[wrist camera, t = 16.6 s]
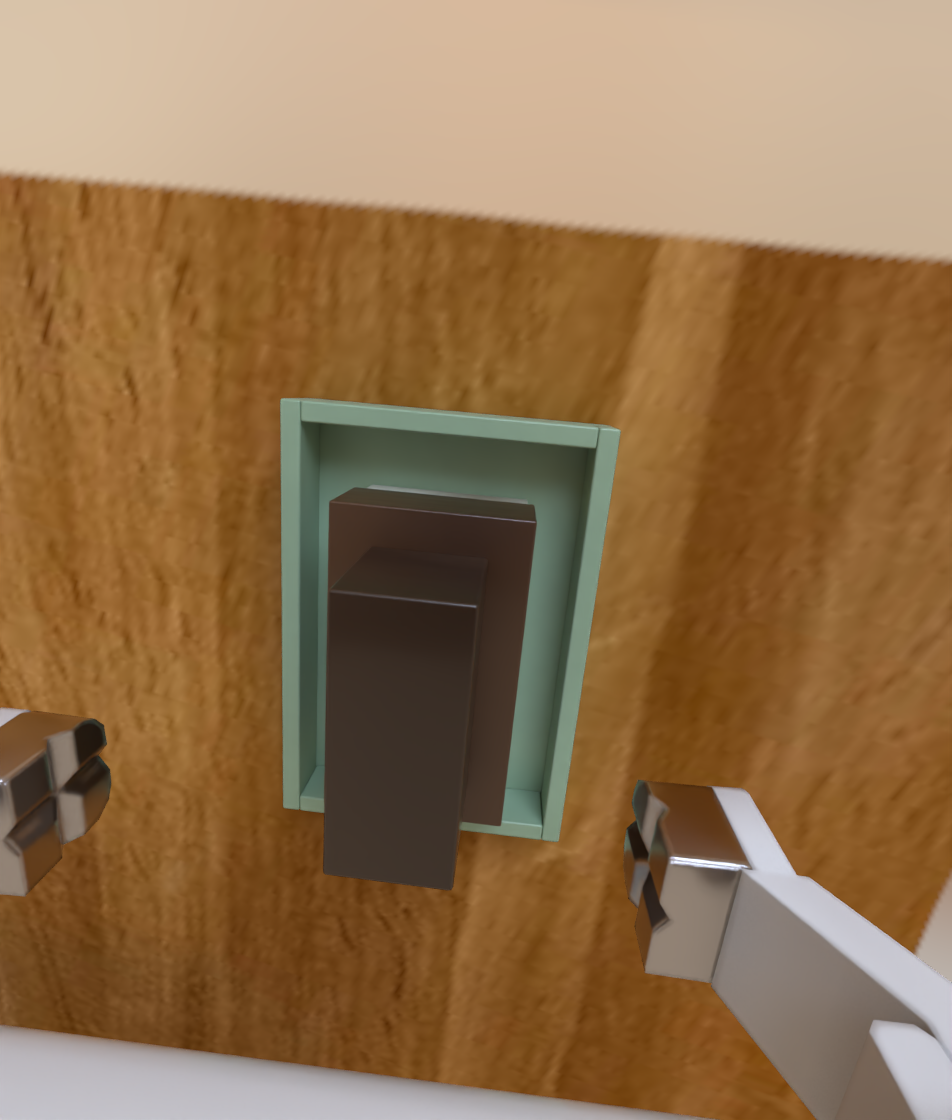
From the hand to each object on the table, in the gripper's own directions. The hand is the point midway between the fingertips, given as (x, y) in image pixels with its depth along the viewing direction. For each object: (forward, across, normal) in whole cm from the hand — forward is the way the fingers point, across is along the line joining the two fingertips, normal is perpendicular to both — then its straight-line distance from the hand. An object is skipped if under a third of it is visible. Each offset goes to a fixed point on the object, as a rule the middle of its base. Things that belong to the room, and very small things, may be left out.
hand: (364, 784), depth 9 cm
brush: (+8, 0, +1) cm, 8 cm away
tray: (+8, 0, 0) cm, 8 cm away
